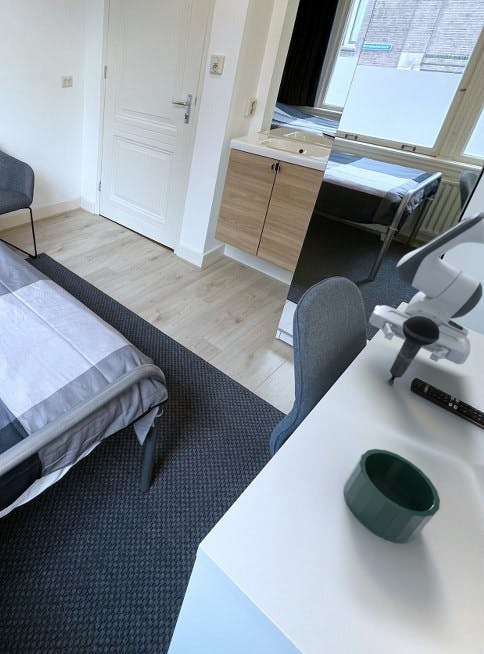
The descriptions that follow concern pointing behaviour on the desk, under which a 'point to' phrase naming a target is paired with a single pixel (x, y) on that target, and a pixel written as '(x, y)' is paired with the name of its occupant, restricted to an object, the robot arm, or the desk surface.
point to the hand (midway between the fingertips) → (410, 347)
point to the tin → (390, 496)
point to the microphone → (413, 343)
